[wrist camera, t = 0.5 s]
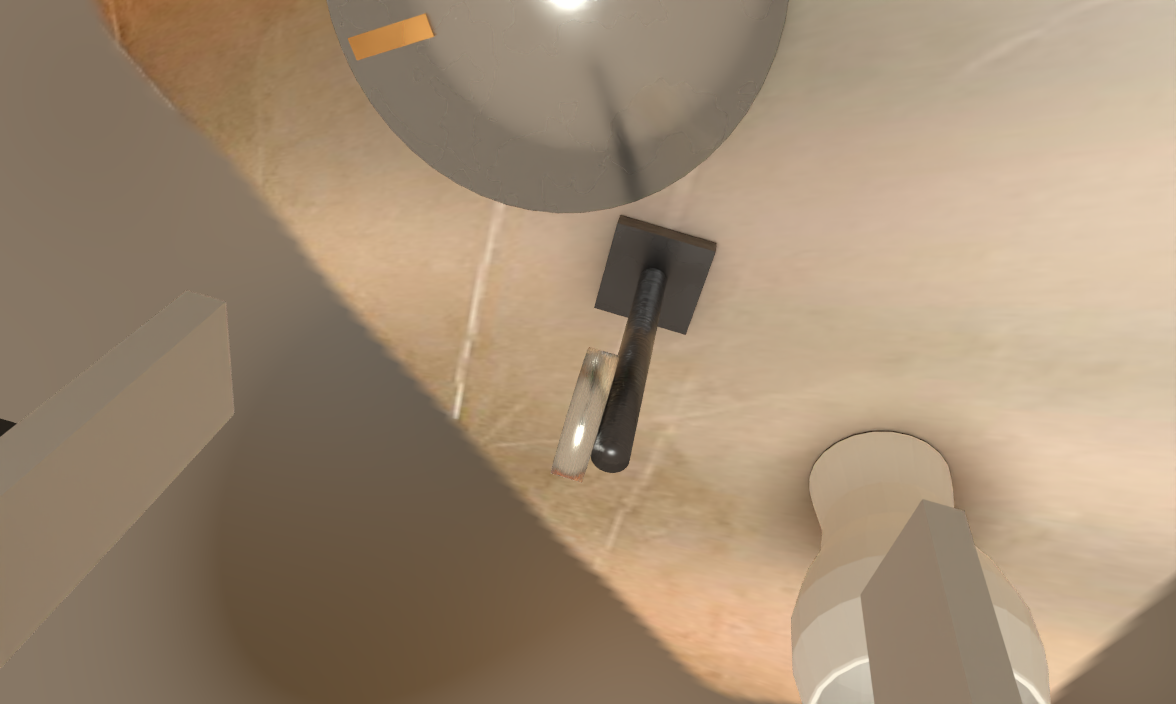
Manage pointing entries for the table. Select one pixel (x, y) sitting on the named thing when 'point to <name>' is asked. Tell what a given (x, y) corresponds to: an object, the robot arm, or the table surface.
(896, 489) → the cup
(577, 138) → the disc
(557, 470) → the stand
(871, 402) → the table surface
